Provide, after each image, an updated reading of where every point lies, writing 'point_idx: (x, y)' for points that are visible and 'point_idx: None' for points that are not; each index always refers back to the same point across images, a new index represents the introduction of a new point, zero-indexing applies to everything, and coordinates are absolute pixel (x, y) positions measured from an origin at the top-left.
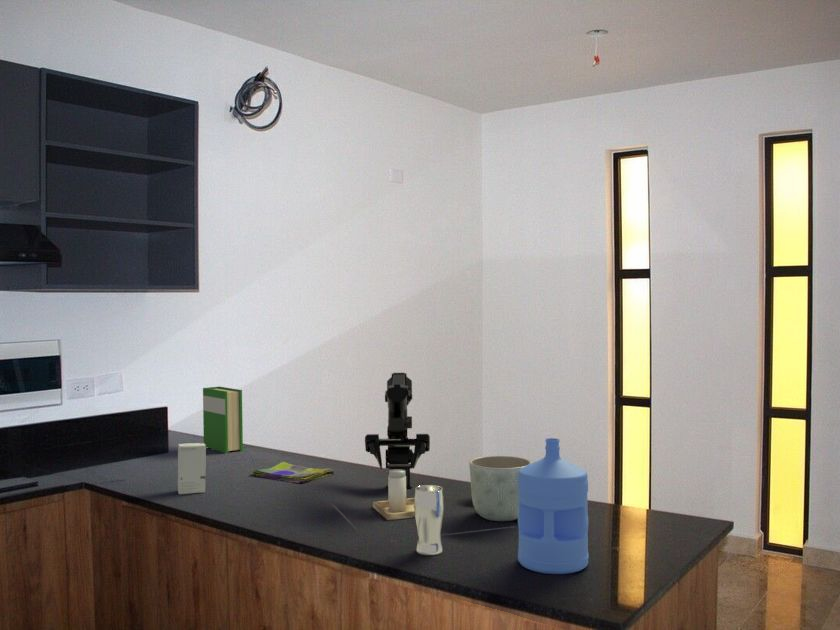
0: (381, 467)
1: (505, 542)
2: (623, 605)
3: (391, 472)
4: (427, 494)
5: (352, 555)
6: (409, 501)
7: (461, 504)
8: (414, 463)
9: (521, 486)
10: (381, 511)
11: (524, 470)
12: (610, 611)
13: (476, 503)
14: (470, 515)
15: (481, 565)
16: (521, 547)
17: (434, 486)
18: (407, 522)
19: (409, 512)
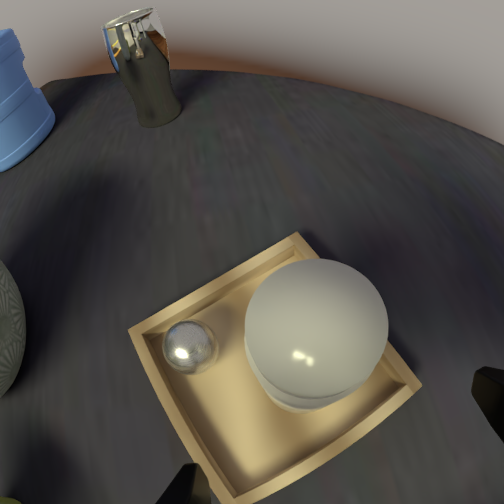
0: (475, 372)
1: (35, 186)
2: None
3: (344, 264)
4: (135, 14)
5: (285, 79)
6: (271, 478)
7: (79, 498)
8: (175, 483)
9: (17, 39)
10: None
11: (3, 30)
12: (41, 90)
13: (9, 279)
14: (48, 364)
15: (97, 106)
16: (46, 103)
17: (113, 27)
18: (229, 256)
19: (223, 274)
